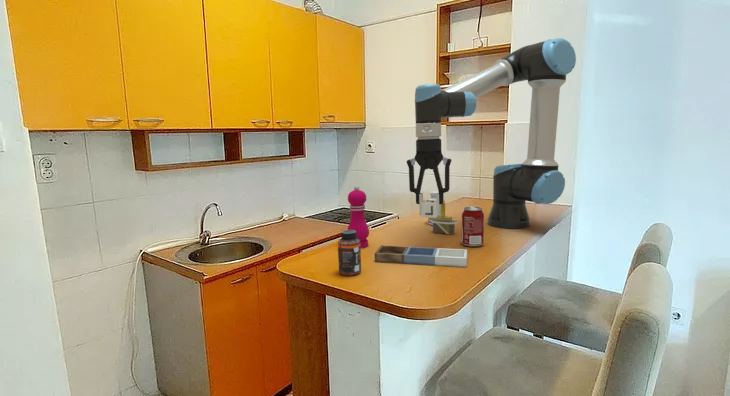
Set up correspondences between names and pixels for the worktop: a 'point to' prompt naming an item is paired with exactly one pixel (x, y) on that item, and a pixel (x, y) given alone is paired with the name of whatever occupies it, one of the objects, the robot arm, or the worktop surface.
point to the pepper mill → (358, 215)
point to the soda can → (472, 226)
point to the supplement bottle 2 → (442, 207)
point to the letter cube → (429, 208)
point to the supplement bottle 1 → (349, 253)
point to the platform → (443, 225)
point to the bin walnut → (390, 254)
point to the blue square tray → (420, 256)
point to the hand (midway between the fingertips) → (429, 214)
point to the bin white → (451, 257)
